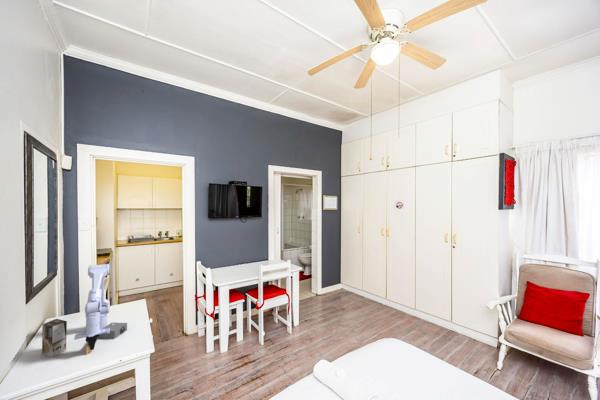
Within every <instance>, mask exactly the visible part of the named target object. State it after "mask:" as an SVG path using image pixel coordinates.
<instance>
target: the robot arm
mask: <svg viewBox="0 0 600 400" xmlns="http://www.w3.org/2000/svg"><path fill="white" fill-rule="evenodd" d="M110 267H111V265H110V263H104V264H95V265H94V264H93V265H91V264H90V265H89V266H88V268H87V275H88V276H89V278H90V279H92V280H91V281H92V282H91V284H92V286H91V290H89V291H88V296H87V301H86V304H85V306H84V314H85V319H86V320H85V331H84V332H80V333H77V334H75V335H74V341H76V340H79V339H83V338H85V342H86V343H87V345H88V344H89V346H90V351H94V350H95V346H96V342H97V341H96V340H98V339H99V338H98V336H99V335H100V334H105V333H109V332H110V328H108V329H102V328H104V327H105V326H107V325H108V324H107V323H108V314H109V313H110V310H111V304H110V302H111V301H110V300H109V299H106V298H105V277H106V276H108V275H109V274H110ZM97 338H98V339H97Z"/></svg>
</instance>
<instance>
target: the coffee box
mask: <svg viewBox="0 0 600 400" xmlns="http://www.w3.org/2000/svg"><path fill="white" fill-rule="evenodd" d="M67 322H68V321H67V320H64V319H59V318H56V319H52V320H49V321H47V322H44V323H42V327H41V328H42V331H41V332H42V333H41V338H42V339H41V343H42V344H41V354H42V355H44V356H47V357H51V358H54V357H55V356H58V355H61V354H62V353H65V352H66V351H67V329H68V328H67V327H68V323H67Z"/></svg>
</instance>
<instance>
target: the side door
mask: <svg viewBox="0 0 600 400" xmlns="http://www.w3.org/2000/svg"><path fill="white" fill-rule="evenodd" d="M98 339H99V338H97V340H98ZM97 340H96V342H97ZM85 352H86V355H88V354H89V353H90V352H91V350H90V346H89V344H88V343H87V345H86V348H85Z"/></svg>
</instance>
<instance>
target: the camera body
mask: <svg viewBox="0 0 600 400" xmlns="http://www.w3.org/2000/svg"><path fill="white" fill-rule="evenodd" d="M108 328H110V332H109V333H105V334H100V335H99V336H98V339H105V340H109V339H110V340H111V339H112V340H115V339H117V338H118V337H120V336H121V335H122V334H123V333H125V332H126V331H127V330H128V323H127V322H111V323H109V324H107V326H105V327H104V328H102V329H108Z"/></svg>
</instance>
